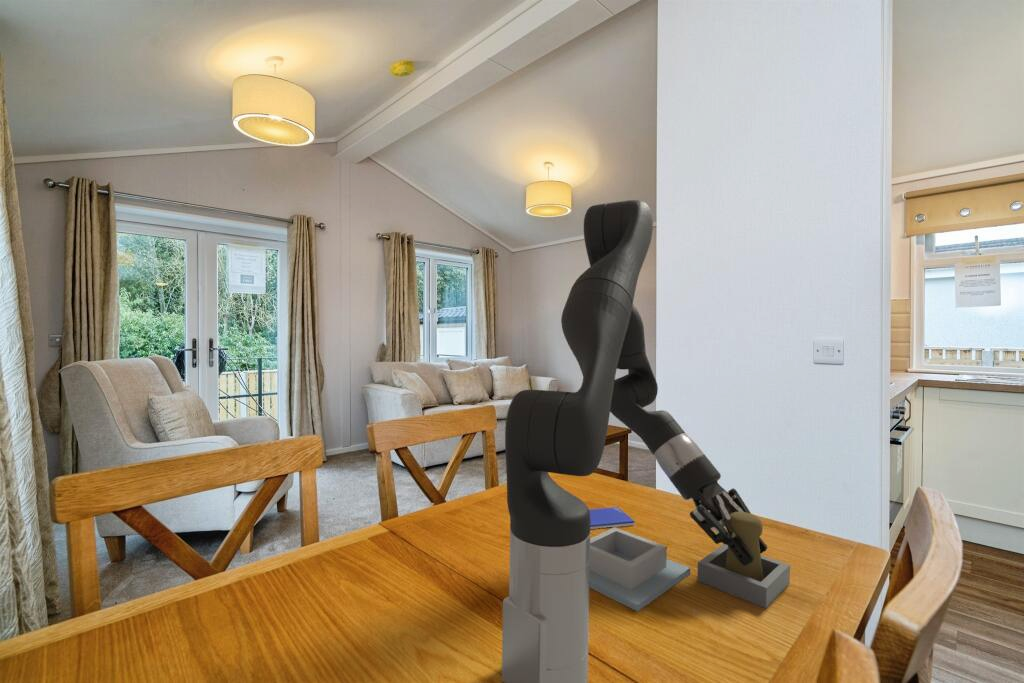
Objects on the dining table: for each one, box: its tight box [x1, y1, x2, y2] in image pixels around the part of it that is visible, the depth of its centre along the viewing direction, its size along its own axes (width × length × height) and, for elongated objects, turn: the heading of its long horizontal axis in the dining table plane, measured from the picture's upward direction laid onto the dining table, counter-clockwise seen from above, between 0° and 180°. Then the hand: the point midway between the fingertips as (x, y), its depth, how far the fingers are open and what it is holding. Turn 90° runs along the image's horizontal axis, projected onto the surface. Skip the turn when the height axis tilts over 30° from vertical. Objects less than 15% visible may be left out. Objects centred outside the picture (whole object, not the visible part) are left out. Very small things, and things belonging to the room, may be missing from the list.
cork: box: [724, 512, 764, 582], centre depth 77 cm, size 6×6×11 cm
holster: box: [696, 543, 791, 609], centre depth 77 cm, size 10×10×3 cm
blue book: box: [589, 506, 636, 530], centre depth 102 cm, size 2×8×12 cm
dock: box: [589, 527, 691, 612], centre depth 80 cm, size 16×16×4 cm
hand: (756, 556), depth 75 cm, fingers closed on cork, 4 cm apart
